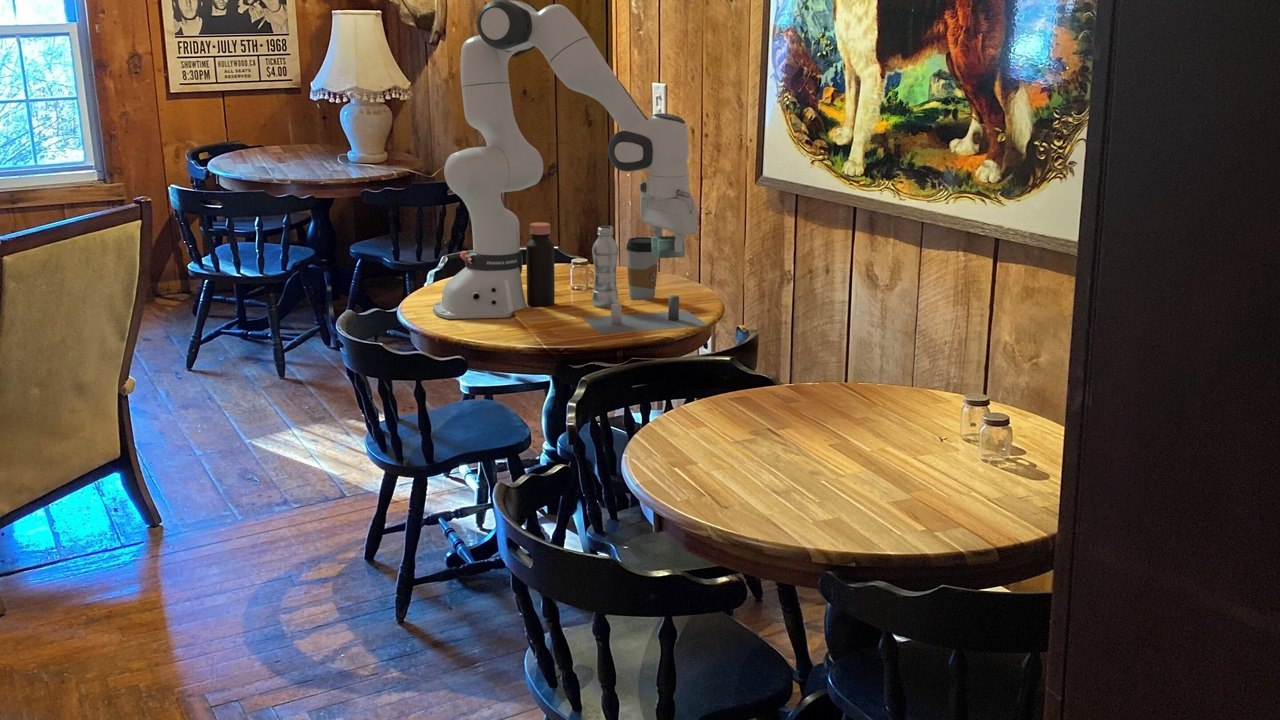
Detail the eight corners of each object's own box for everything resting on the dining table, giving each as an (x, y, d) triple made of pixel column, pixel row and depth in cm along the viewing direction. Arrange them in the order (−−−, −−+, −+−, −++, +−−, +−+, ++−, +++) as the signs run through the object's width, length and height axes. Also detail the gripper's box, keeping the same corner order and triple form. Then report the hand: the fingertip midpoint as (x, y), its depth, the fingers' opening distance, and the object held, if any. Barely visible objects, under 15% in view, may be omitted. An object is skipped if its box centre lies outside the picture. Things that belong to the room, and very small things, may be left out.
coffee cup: (645, 304, 292) (646, 244, 287) (618, 299, 296) (619, 240, 292) (665, 298, 298) (666, 239, 294) (638, 293, 303) (639, 235, 298)
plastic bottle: (619, 305, 290) (620, 225, 284) (616, 312, 283) (617, 230, 278) (593, 304, 290) (594, 224, 285) (589, 311, 284) (590, 229, 278)
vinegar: (548, 309, 286) (547, 227, 280) (522, 306, 288) (521, 225, 282) (558, 302, 292) (558, 222, 286) (533, 300, 294) (532, 220, 288)
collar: (659, 258, 265) (658, 240, 264) (651, 254, 270) (651, 236, 269) (684, 256, 266) (684, 239, 265) (676, 252, 272) (676, 235, 271)
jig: (600, 338, 262) (600, 309, 260) (582, 322, 274) (582, 295, 272) (708, 329, 270) (709, 301, 268) (686, 314, 282) (687, 288, 281)
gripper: (705, 192, 257) (704, 254, 261) (658, 181, 274) (658, 240, 278) (680, 194, 254) (679, 257, 258) (635, 183, 271) (635, 242, 275)
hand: (668, 248), depth 268 cm, fingers closed on collar, 7 cm apart
